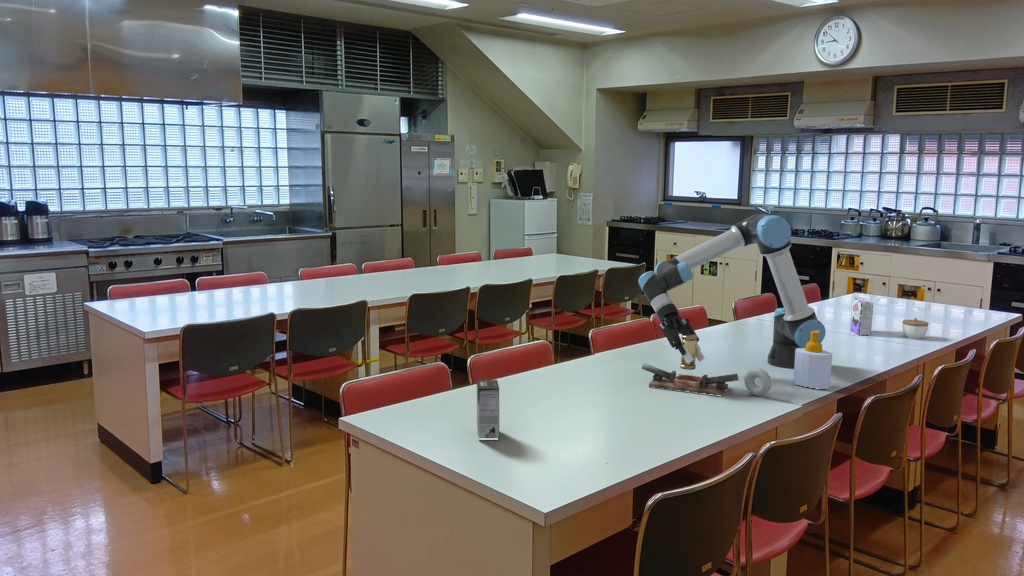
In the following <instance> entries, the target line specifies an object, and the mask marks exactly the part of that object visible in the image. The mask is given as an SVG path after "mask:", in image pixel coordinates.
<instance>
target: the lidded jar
mask: <svg viewBox="0 0 1024 576" xmlns="http://www.w3.org/2000/svg"><path fill="white" fill-rule="evenodd" d="M901 326H902V332H903V334H904V336H906V338H907V339H910V340H921V339H922V338H923V337H925V336H926V334H927V332H928V328H929V327H928V326H929V322H928V321H926V320H921V319H918V318H916V317H915V318H914V319H903V320H902V325H901Z"/></svg>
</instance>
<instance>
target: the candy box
mask: <svg viewBox="0 0 1024 576" xmlns="http://www.w3.org/2000/svg"><path fill="white" fill-rule="evenodd" d="M851 301H852V302H851V314H850V316H851V317H850V328H849V330H850V331H852V332H853V333H854V334H856V335H858V336H860V337H861V336H862V337H864V336H866V337H871V336H872V327H873V326H872V324H873V314H874V303H875V302H872V301H871V300H869V299H868V298H865V297H852V300H851Z"/></svg>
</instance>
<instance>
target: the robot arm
mask: <svg viewBox="0 0 1024 576" xmlns="http://www.w3.org/2000/svg"><path fill="white" fill-rule="evenodd" d="M791 236H792V228H791V225H790V223H789V222H788V221H787V220H786V219H785V218H783V217H781V216H779V215H775V214H766V213H755V214H753V215H751V216H749V217H747V218H744V219H742V220H741V221H739V222H736V223H735V224H733V225H732V226H731V227H730V229H729V230H726V231H725V232H723V233H721V234H718V235H716V236H715V237H713V238H710V239H709V240H706V241H705V242H703V243H701V244H699V245H697V246H694V247H692V248H691V249H690V248H689V250H687V251H684V252H683V253H681V254H679V255H677V256H674V257H672V258H671V259H669V260H662V261H659V262H658V263H657V264H656V265H655V268H654V271H653V270H650V271H645V273H643V274H641V275H640V276H639V278H638V285H639V287H640V288H641V290H642V291H641V292H643V294H644V296H645V297H646V299H647V301H648V303H650V306H651V307H652V309H653V310H654V312H655V313H656V317H658V320H659V321H660V322H661V323H660V324H659V325H658V328H659V329H660V330H661V331H662V332H663V334H664V336H665V338H666V339H667V341H668V343H669V345H670V347H671V348H674V349H675V350H676V351H677V350H678V351H679V353H680V355H681V356H682V355H683V356H684V358H685V360H686V361H687V363H688V364H690V363H691V362H692V361H693V360H694V359H693V358H692V356H691V354H690V353H689V351H688V349H687V348H686V346H685V344H684V345H682V338H681V337H680V334H681V335H682V334H694V335H697V334H696V331H695V329H694V328H693V327H692V325H691V323H690V320H689V319H688V318H685V319H684V318H682V317H681V316H680V315H679V309H678V308H677V306H676V304H674V302H673V299H672V298H671V296H670V295H669V293H668V292H669V291H671V290H674V289H675V288H678V287H679V286H682V285H684V284H686V283H688V282H690V281H691V280H693V277H694V275H693V274H694V273H693V270H695V269H697V268H699V267H700V266H703V265H705V264H707V263H709V262H711V261H713V260H715V259H717V258H719V257H721V256H723V255H725V254H728V253H729V252H731V251H733V250H735V249H737V248H739V247H740V248H745V247H748V246H750V245H753V244H754V245H755V244H756V245H757V248H758V250H759V253H760V255H761V256H763V257H765V258H766V260H767V263H768V266H769V269H770V271H771V275H772V277H773V280H774V282H775V286H776V288H777V292H778V295H779V297H780V300H781V303H782V305H783V307H779V308H775V311H774V315H773V336H772V345H771V348H770V350H769V352H768V355H767V363H768V365H769V364H770V365H772V366H776V367H780V368H787V367H792V368H791V369H794V364H795V350H796V348H806V344H807V343H808V342H810V339H811V331H816V330H819V331H820V333H819V336H818V342H820V343H821V344H822V342H823V340H824V339H825V338H826V327H825V324H823V323H822V321H820V320H819V318H818V317H817V315H816V312H815V309H814V308H813V307H811V306H809V305H808V301H807V298H806V296H805V292H804V289H803V287H802V284H801V280H800V278H799V276H798V273H797V269H796V267H795V264H794V260H793V258H792V255H791V252H790V248H791V247H792V242H791ZM679 333H680V334H679ZM699 341H700V338H699V336H698V335H697V340H696V359H697V361H698V362H702V361H703V360H704V359H705V355H704V354H703V352H702V349H701V348H700V346H699V344H698V342H699Z"/></svg>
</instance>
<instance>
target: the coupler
mask: <svg viewBox="0 0 1024 576" xmlns="http://www.w3.org/2000/svg"><path fill="white" fill-rule="evenodd" d="M697 336H698V334H696V335H694V334H681V342H682V345H684V344H685V346H686V348H687V349H688V351H689V353H690V354H691V356H692V358H693V359H694V360H693V361H692V362H691V363H690V364H688V363H687V361H686V360H685V358H684V356H683V355H681V360H680V361H681V362H680V369H682V370H687V371H689V370H690V371H691V370H695V369H696V367H697V364H696V359H697V358H696V340H697Z"/></svg>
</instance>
